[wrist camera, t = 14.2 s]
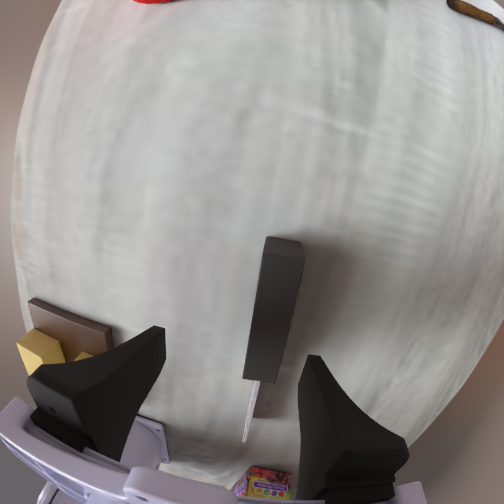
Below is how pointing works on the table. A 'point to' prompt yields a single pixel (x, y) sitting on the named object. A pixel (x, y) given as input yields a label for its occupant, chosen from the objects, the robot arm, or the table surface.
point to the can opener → (473, 11)
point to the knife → (272, 314)
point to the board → (70, 330)
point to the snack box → (264, 484)
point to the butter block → (39, 350)
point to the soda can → (151, 1)
